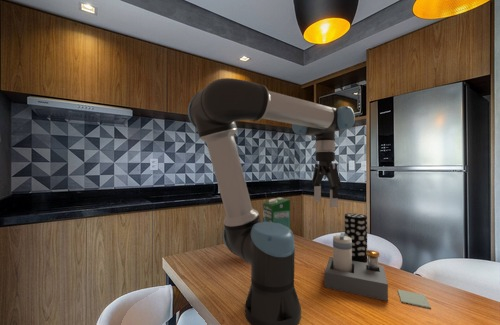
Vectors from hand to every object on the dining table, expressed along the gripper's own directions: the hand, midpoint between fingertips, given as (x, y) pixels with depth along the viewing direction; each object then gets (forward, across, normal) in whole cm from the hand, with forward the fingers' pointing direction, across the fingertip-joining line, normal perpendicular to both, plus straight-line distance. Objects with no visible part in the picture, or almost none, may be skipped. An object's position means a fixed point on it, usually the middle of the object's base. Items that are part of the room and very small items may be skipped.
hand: (325, 204), depth 94 cm
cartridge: (+25, -13, 0) cm, 28 cm away
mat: (+24, -27, -15) cm, 39 cm away
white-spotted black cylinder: (+25, -2, -12) cm, 28 cm away
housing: (+25, -15, -3) cm, 29 cm away
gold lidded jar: (+21, -16, -9) cm, 28 cm away
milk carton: (+25, +15, +16) cm, 33 cm away
